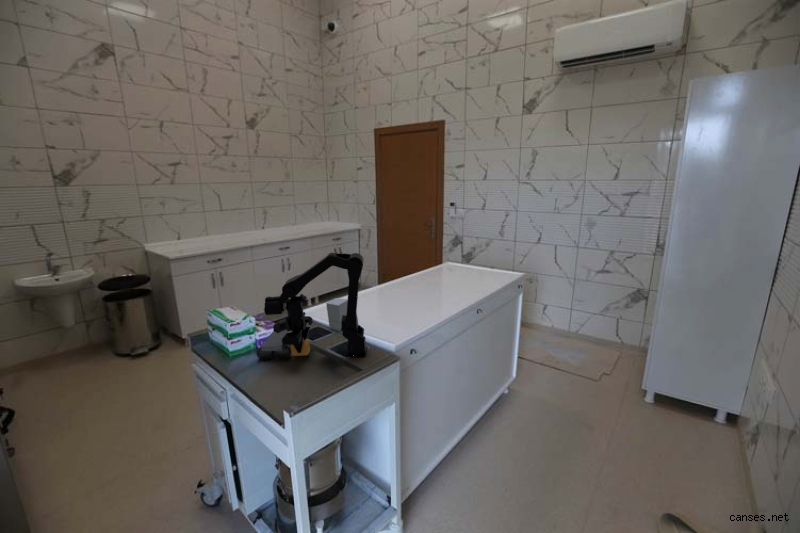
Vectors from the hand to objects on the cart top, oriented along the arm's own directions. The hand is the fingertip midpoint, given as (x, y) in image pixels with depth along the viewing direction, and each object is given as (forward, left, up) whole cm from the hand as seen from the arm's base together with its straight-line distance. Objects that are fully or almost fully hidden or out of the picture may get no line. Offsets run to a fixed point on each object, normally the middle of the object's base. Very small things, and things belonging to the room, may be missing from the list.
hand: (301, 349), depth 140 cm
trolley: (+11, -5, -4) cm, 12 cm away
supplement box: (-9, -26, -4) cm, 28 cm away
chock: (0, 0, -1) cm, 1 cm away
